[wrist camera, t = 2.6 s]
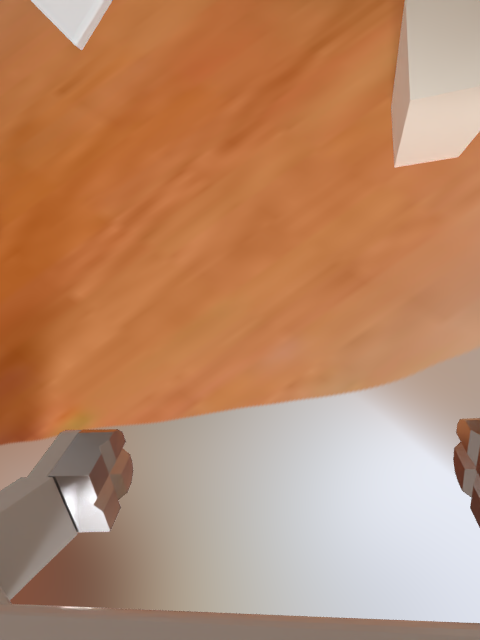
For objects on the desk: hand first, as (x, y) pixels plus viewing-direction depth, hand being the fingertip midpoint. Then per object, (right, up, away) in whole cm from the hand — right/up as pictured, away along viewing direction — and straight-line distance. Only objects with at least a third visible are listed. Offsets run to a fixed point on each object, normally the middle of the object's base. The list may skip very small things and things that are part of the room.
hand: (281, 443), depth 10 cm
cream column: (+13, +17, +21) cm, 30 cm away
